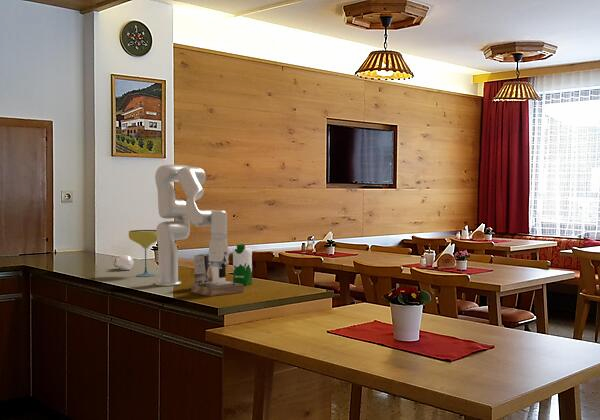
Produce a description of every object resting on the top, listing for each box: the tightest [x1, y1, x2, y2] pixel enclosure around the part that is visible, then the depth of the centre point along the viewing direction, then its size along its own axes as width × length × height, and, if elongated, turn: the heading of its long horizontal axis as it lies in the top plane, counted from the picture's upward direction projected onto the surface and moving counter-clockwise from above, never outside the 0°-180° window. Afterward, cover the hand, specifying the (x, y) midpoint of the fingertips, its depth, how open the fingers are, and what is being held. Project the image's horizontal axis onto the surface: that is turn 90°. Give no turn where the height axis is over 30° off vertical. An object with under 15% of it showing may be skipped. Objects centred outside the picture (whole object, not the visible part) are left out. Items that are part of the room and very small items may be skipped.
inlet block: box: [206, 280, 233, 288], centre depth 309 cm, size 9×9×4 cm
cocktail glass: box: [128, 229, 158, 278], centre depth 371 cm, size 18×18×25 cm
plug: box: [213, 262, 227, 283], centre depth 309 cm, size 4×4×10 cm
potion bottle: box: [113, 254, 134, 271], centre depth 401 cm, size 9×10×15 cm
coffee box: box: [194, 253, 213, 285], centre depth 322 cm, size 9×6×16 cm
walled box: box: [190, 283, 245, 297], centre depth 308 cm, size 16×18×4 cm
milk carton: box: [232, 244, 253, 287], centre depth 334 cm, size 9×9×20 cm
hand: (219, 276), depth 309 cm, fingers closed on plug, 4 cm apart
